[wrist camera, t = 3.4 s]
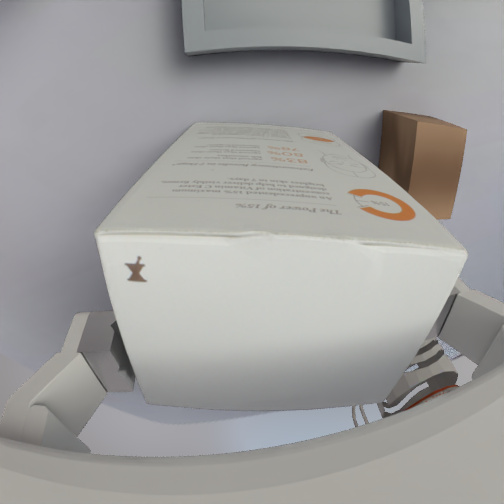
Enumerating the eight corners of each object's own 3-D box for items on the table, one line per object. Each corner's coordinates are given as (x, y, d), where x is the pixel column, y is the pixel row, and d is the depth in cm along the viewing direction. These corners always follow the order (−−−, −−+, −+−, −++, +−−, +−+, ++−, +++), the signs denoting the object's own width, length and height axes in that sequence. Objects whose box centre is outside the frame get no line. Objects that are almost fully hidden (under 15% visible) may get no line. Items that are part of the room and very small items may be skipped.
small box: (192, 220, 19) (140, 407, 8) (192, 120, 16) (82, 226, 5) (318, 226, 20) (386, 406, 9) (333, 131, 16) (477, 247, 5)
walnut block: (382, 109, 17) (417, 121, 13) (429, 116, 17) (467, 129, 14) (374, 195, 20) (402, 221, 17) (418, 194, 20) (450, 219, 17)
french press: (406, 359, 32) (482, 538, 11) (316, 371, 30) (378, 595, 9) (442, 295, 26) (560, 501, 5) (344, 301, 25) (455, 593, 4)
